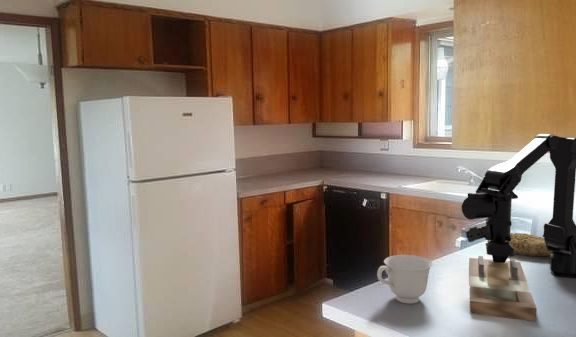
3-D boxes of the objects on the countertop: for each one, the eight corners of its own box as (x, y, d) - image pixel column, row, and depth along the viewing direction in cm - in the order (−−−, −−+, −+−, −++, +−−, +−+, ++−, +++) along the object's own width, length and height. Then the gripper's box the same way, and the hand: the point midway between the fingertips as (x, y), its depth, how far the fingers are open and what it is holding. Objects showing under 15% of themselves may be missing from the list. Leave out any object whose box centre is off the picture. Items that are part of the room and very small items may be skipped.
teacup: (365, 296, 123) (365, 259, 122) (412, 287, 128) (412, 252, 127) (391, 314, 112) (392, 273, 111) (442, 303, 117) (443, 265, 116)
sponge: (485, 255, 161) (545, 256, 145) (484, 232, 162) (543, 230, 146) (506, 254, 168) (565, 256, 152) (504, 232, 170) (562, 231, 154)
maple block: (507, 279, 125) (507, 263, 124) (508, 286, 120) (509, 269, 120) (486, 277, 127) (487, 261, 126) (487, 283, 122) (487, 267, 122)
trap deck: (519, 271, 139) (520, 250, 139) (536, 321, 107) (537, 293, 106) (469, 267, 144) (469, 246, 144) (470, 312, 112) (470, 286, 111)
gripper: (466, 207, 137) (465, 259, 139) (466, 221, 120) (465, 280, 122) (509, 209, 133) (506, 262, 135) (515, 224, 116) (512, 285, 118)
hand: (497, 272), depth 127 cm, fingers closed
